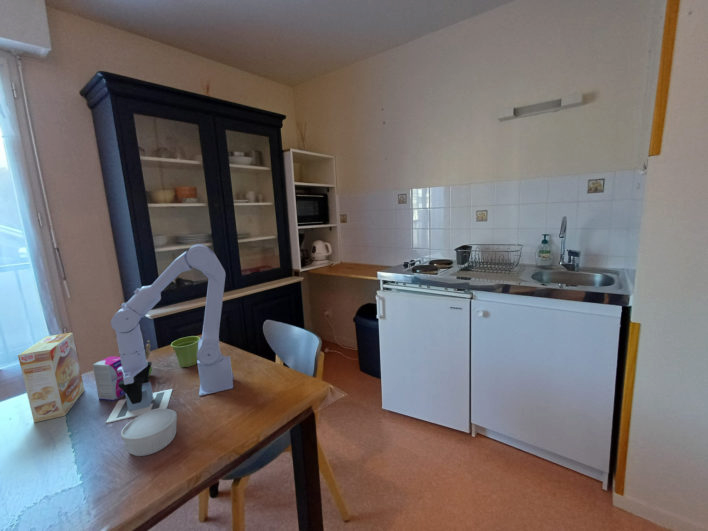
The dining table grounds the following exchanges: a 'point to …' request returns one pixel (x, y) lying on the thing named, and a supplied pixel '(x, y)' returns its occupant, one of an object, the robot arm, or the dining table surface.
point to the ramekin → (150, 432)
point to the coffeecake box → (51, 376)
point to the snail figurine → (148, 354)
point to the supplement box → (108, 378)
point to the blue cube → (146, 398)
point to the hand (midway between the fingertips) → (140, 395)
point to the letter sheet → (121, 409)
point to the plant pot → (186, 350)
